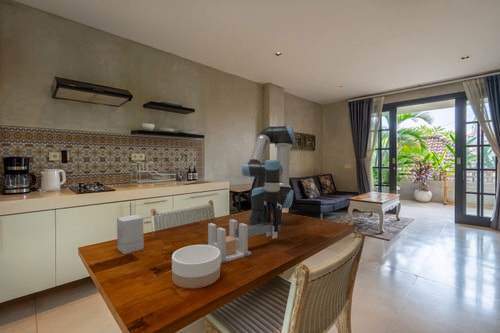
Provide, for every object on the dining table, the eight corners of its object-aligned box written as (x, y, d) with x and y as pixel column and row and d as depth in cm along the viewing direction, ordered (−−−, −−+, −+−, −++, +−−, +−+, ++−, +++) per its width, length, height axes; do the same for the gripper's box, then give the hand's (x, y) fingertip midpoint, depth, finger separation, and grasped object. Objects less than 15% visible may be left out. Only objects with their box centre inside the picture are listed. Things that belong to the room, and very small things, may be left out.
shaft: (274, 228, 124) (274, 219, 123) (280, 230, 120) (280, 221, 120) (235, 237, 109) (235, 227, 109) (241, 240, 106) (241, 230, 106)
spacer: (228, 235, 108) (219, 238, 105) (236, 239, 103) (226, 242, 100) (228, 248, 108) (219, 251, 105) (236, 253, 104) (226, 255, 101)
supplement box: (137, 244, 117) (136, 214, 116) (144, 249, 110) (143, 217, 110) (117, 249, 110) (116, 217, 110) (123, 254, 104) (122, 221, 103)
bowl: (174, 293, 75) (174, 267, 75) (169, 269, 91) (169, 248, 90) (226, 282, 82) (226, 258, 81) (213, 261, 98) (213, 241, 97)
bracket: (236, 246, 114) (236, 218, 114) (251, 254, 105) (251, 224, 104) (204, 254, 104) (203, 224, 104) (217, 264, 95) (217, 231, 94)
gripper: (256, 189, 123) (255, 233, 124) (278, 193, 110) (277, 243, 111) (267, 188, 128) (266, 231, 129) (289, 192, 114) (289, 239, 115)
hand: (271, 236), depth 120 cm, fingers closed on shaft, 4 cm apart
